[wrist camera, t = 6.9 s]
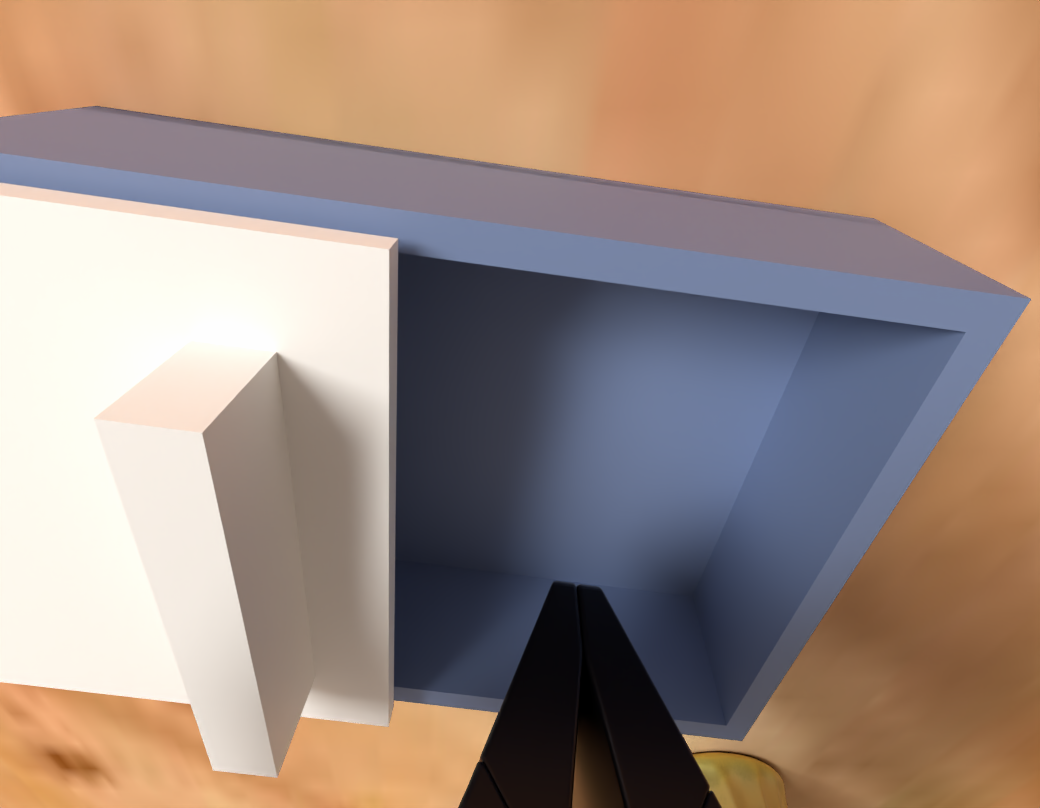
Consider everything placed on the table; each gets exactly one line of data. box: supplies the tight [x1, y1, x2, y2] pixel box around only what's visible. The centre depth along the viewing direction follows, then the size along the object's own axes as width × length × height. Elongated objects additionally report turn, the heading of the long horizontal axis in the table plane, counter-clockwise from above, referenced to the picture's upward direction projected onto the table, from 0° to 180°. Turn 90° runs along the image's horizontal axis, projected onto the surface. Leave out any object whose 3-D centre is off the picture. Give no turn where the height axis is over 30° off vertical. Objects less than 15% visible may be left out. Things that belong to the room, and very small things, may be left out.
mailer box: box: [0, 106, 1031, 741], centre depth 13 cm, size 16×12×4 cm
